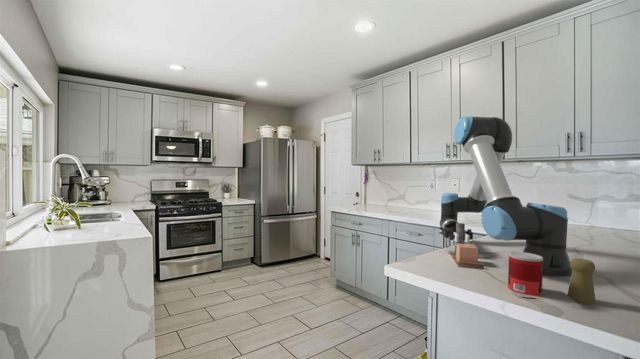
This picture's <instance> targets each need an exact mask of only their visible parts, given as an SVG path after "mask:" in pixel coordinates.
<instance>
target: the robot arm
mask: <svg viewBox="0 0 640 359" xmlns="http://www.w3.org/2000/svg"><path fill="white" fill-rule="evenodd" d="M453 131H454V132H453V139H454V141H453V142H454V143H455V144H456V145H459V146H460V145H462V148H463V151H464V152H465V153H467V154H469V155H470V158H471V161H472V163H473V166H474V169H475V172H476V175H475V178H474V181H473V183H472V186H471V188H470V191H469V194H468V196H467V197H463V196H459V194H458V193H453V192H444V193H442V194H441V198H440V199H441V201H440V203H441V204H440V207H441V208H440V220H439V228H438V229H439V230H438V232H439V233H438V234H441V235H442V236H443V237H444V238H446V239H447V238H449V240H450V241H455V243H456V242H458V239H459V235H458V234H457V233H456V223H459V222H458V214H459V213H472V214H473V213H476V214H480V213H481V224H482V228H483V229H484V232H485V233H486V234H487V235H488V236H489V237H490V238H493V239H494V240H497V241H498V240H499V241H505V242H506V241H507V242H508V241H525V245H524V248H523V250H522V252H525V253H531V254H536V255H539V256H541V257H543V275H547V276H553V277H567V276H571V275H572V269H571V267H570V262H571V259H570V257H569V254H568V252H567V241H568V240H567V239H568V238H567V237H568V225H569V224H568V221H569V218H568V210H567V209H566V208H565V207H562V206H557V205H550V204H541V203H535V202H527V203H526V206H523V203H522V202H521V199H520V198H519V197H517V196H516V195H513V193H512V191H511V188H510V186H509V183H508V181H507V178H506V176H505V173H504V171H503V168H502V165H501V164H502V161H503V158H504V157H505V154H507V153H509V152H510V150H511V146H512V142H513V133H512V129H511V126H510V124H508V122H507V121H506V120H504V119H502V118H501V117H495V116H494V117H493V116H492V117H490V116H489V117H488V116H487V117H486V116H471V115H470V116H463V117H461V118H460V119H458V121H457V123H456V125H455V127H454V130H453ZM473 237H474V233H473V232H472V229H471V228H467V229H466V230H465V233H464V242H466V244H470V241H471V240H473V239H474V238H473Z"/></svg>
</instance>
